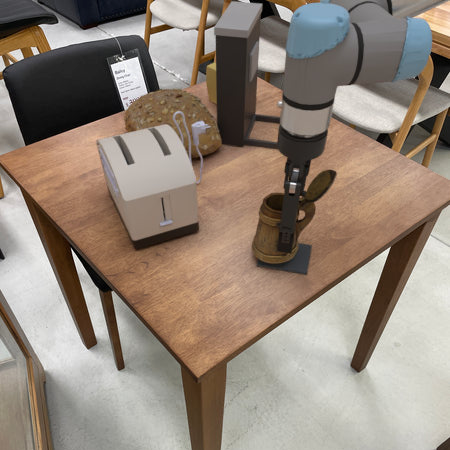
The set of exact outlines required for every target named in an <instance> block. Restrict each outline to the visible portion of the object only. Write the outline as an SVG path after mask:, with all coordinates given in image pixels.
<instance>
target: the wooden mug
mask: <svg viewBox="0 0 450 450" xmlns="http://www.w3.org/2000/svg"><path fill="white" fill-rule="evenodd" d="M337 175H338V172H337V171H336V170H333V169H326V170H323V171H321V172H320V173H318V174H317V175H316V176H315V177H314V178H313V179H312V180H311V182H310V183H309V185H308V187H307V188H306V189H307V190H305V191H306V193H305V194H304V195H303V196H300V199H299V205H298V211H297V217H296V222H295V224H296V228H295V234H294V241H293V247H292V253H291V254H289V253H283V252H277V247H278V239H279V227H276V224H277V222H278V223H280V221H281V214H282V206H283V199H284V192H271V193H268V194H267V195H266V196H265V197H263V198H262V203H261V204H260V207H259V210H258V222H257V226H256V230H255V234H254V235H253V238H252V242H251V251H252V253H253V256H255V258H257V260H258V259H260V260H261V261H264V262H266V263H282V262H286V261H289V260H290V259H292V258H293V257H294V256H295V254H296V253H297V250H298V247H299V245H298V243H299V237H300V235H301V233H302V232H303V231H304V230H305V229H306V227H307V226H309V224H310V223H311V222H312V220H313V219H314V217H315V215H316V209H317V207H316V204H315V203H316V202H318V201H319V200H321V199H322V198H324V196H325V195H327V193H328V192H329V190H330V189H331V187H332V186H333V185H334V183H335V180H336V178H337ZM300 211H301V212H304V216H303V217H302V218H300V219H299V218H298V217H300ZM297 218H298V220H297Z"/></svg>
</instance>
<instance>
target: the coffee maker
mask: <svg viewBox="0 0 450 450" xmlns="http://www.w3.org/2000/svg"><path fill="white" fill-rule="evenodd" d="M262 12H263V3H259V2H245V1H235V0H234V1H230V3H229V4H228V6H227V8H226V9H225V11H224V12H223V13H222V15H221V16H220V18H219V19H218V21H217V23H216V24H215V25H214V27H213V35H214V36H215V62H216V94H217V104H216V123H217V127H218V130H219V134H220V138H221V139H222V141H221V142H222V145H225V146H232V147H238V148H244V147H245V146H252V147H259V148H265V149H266V148H267V149H274V150H278V147H277V141H272V140H271V141H269V140H263V139H255V138H250V136H251V134H252V131H253V128H254V126H255V123H256V121H257V122H258V121H259V122H265V123H266V122H267V123H274V124H280V116H276V115H268V114H259V113H256V109H257V94H258V93H257V92H258V91H257V90H258V77H259V76H258V75H259V58H260V57H259V55H260V39H261V38H260V36H261V20H262V19H261V17H262Z"/></svg>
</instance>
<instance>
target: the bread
mask: <svg viewBox="0 0 450 450" xmlns="http://www.w3.org/2000/svg"><path fill="white" fill-rule="evenodd" d="M178 111H180V112H182V113H183V114H184V116H185V123H186V126H187V129H188V131H189V135H190V140H191V159H195V158H200V156H199V154H198V152H197V149H196V145H194V139H193V134H192V127H191V125H192V124H194V123H196V122H199V121H203V122H204V124H208V126H211V127H210V128H206V133H204V134H200V135H199V145H198V149H199V152H200V154H201V156H202V157H204V156H207V155H209V154H212V153H214V152H215V151H217V150H219V149H220V148H221V147H222V145H223V144H222V142H221V141H222V139H221V138H220V134H219V130H218V127H217V120H214V115H213V114H212V113H211V112H210V110H209V109H208V108H207V106H206V105H205V103H203V102H202V99H201V98H200V97H198V95H195V94H193V93H191V92H189V91H187V90H182V89H181V88H171V89H170V88H164V89H162V88H159V89H158V90H156V91H155V90H154V91H151V92H149V93H145V94H143V95H140V96H139V97H138V98H137V99H136V100H134V101H132V102H131V104H130V105H129V106H128V107H127V109H125V113H124V115H123V121H124V125H125V127H124V130H126V133H129V132H134V131H138V130H142V129H147V128H151V127H156V126H160V125H164V124H167V125H169V126H170V127H171V128H172V129H173V130H174V131H175V132H176V134H177V135H178V137H179V138H180V140H181V135H180V133H179V131H178V128H177V126H176V125H175V122H174V120H173V115H174V114H175V113H176V112H178ZM175 120H176V122H177V124H178V126H179V128H180V130H181V132H182V135H183V140H184V143H183V146H184V148H185V150H186V152H187V155H188V157H189V139H188V135H187V132H186V129H185V126H184V123H183V116H182V115H181V114H177V115H176V116H175ZM205 127H207V126H205ZM181 142H182V140H181Z"/></svg>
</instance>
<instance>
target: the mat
mask: <svg viewBox="0 0 450 450" xmlns="http://www.w3.org/2000/svg"><path fill="white" fill-rule="evenodd" d="M298 245H299V247H298V250H297V253H296V254H295V256H294V257H293V258H292V259H290V260H289V261H286V262H282V263H266V262H264V261H261V260H260V259H258V258H257V261H256V265H255V266H256V267H260V268H266V269H271V270H276V271H282V272H288V273H293V274H299V275H305V276H306V275H308V270H309V265H310V259H311V253H312V247H313V245H312V244H307V243H301V242H298Z"/></svg>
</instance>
